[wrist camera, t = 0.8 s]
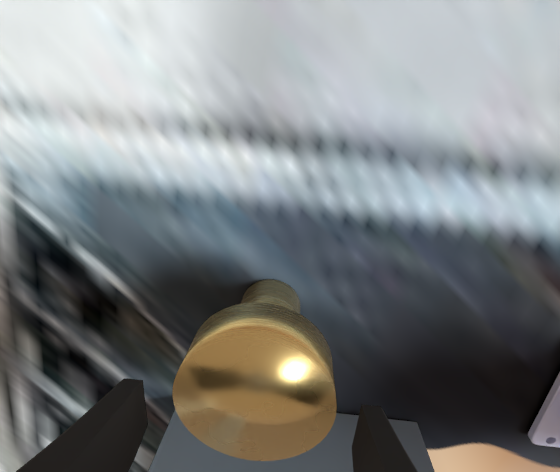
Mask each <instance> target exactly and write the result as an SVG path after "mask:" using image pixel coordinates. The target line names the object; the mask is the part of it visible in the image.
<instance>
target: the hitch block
mask: <svg viewBox="0 0 560 472" xmlns="http://www.w3.org/2000/svg"><path fill="white" fill-rule="evenodd" d="M358 417H359V415H350V414H341V413H336V417H335V421H334V424H333V426H332V428H331V430H330V431H329V433H328V434H327V435H326V437H325V438H324V439H323V440H322V441H321V442H320V443H319V444H317V445H316V446H315V447H313V448H312V449H310V450H308V451H306V452H304V453H302V454H300V455H297V456H294V457H291V458H287V459H282V460H275V461H253V460H246V459H240V458H236V457H232V456H229V455H226V454H224V453H221V452H219V451H217V450H214V449H213V448H211V447H209V446H207V445H206V444H204V443H203V442H201V441H200V440H199V439H197V438H196V437H195V436H194V435H193V434H192V433H191V432H190V431H189V430H188V429H187V428H186V427H185V426H184V424H183V423H182V421H181V420H180V418H179V416H178V414H177V412H176V409H175V411H174V413H173V415H172V418H171V420H170V422H169V425H168V427H167V429H166V432H165V434H164V436H163V438H162V441H161V443H160V445H159V448H158V450H157V452H156V455H155V457H154V459H153V462H152V464H151V466H150V469H149V471H148V472H353V460H352V443H353V439H354V435H355V430H356V426H357V422H358ZM388 420H389V422H390V424H391V425H392V427H393V429H394V431H395V433H396V435H397V437H398V438H399V440H400V442H401V444H402V445H403V447H404V449H405V451H406V452H407V454H408V456H409V458H410V459H411V461H412V463H413V464H414V466H415V468H416V469H417V471H418V472H434V469H433V466H432V463H431V461H430V458H429V455H428V452H427V449H426V446H425V444H424V441H423V438H422V435H421V432H420V430H419V427H418V424H417V422H411V421H402V420H393V419H388Z"/></svg>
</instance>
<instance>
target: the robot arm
mask: <svg viewBox="0 0 560 472" xmlns="http://www.w3.org/2000/svg"><path fill="white" fill-rule="evenodd" d="M147 425H148V422H147V413H146V405H145V397H144V388H143V380H135V379H123V380H122V381H121V382H120V383H119V384H117V385H116V386H115V387H114V388H113V389H112V390H111V391H110V392H109V393H107V394H106V395H105V396H104V397H103V398H102V399H101V400H100V401H99V402H98V403H97V404H95V405H94V406H93V407H92V408H91V409H90V410H89V411H88V412H87V413H85V414H84V415H83V416H82V417H81V418H80V419H79V420H77V421H76V422H75V423H74V424H73V425H72V426H71V427H69V428H68V429H67V430H66V431H65V432H64V433H62V434H61V435H60V436H59V437H58V438H57V439H56V440H54V441H53V442H52V443H51V444H50V445H48V446H47V447H46V448H45V449H43V450H42V451H41V452H40V453H38V454H37V455H36V456H35V457H34V458H32V459H31V460H30V461H29V462H27V463H26V464H25V465H24V466H22V467H21V468H20V469H19V470H17V471H16V472H128V471H129V469H130V467H131V465H132V463H133V461H134V459H135V456H136V454H137V451H138V449H139V446H140V444H141V441H142V438H143V436H144V433H145V430H146V428H147ZM528 437H529V438H530V440H531V441H532V442H533V443H534V444H537V445H543V446H551V447H560V372H559V374H558V376H557V378H556V380H555V382H554V384H553V386H552V388H551V390H550V392H549V394H548V395H547V397H546V399H545V401H544V403H543V405H542V407H541V409H540V411H539V413H538V415H537V417H536V418H535V420H534V422H533V424H532V426H531V428H530V430H529V432H528ZM352 460H353V472H418V471H417V469H416V468H415V466H414V464H413V463H412V461H411V459H410V458H409V456H408V454H407V452H406V451H405V449H404V447H403V445H402V444H401V442H400V440H399V438H398V437H397V435H396V433H395V431H394V429H393V427H392V425H391V424H390V422H389V420H388V418H387V416H386V414H385V412H384V410H383V409H382V408H381V407H380V406H371V405H362V404H361V409H360V413H359V417H358V422H357V426H356V430H355V435H354V439H353V443H352Z"/></svg>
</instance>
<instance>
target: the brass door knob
mask: <svg viewBox="0 0 560 472" xmlns="http://www.w3.org/2000/svg"><path fill="white" fill-rule="evenodd" d="M173 402H174V406H175V409H176V412H177V414H178V416H179V418H180V420H181V421H182V423H183V424H184V426H185V427H186V428H187V429H188V430H189V431H190V432H191V433H192V434H193V435H194V436H195V437H196V438H197V439H199V440H200V441H201V442H203V443H204V444H206V445H207V446H209V447H211V448H213V449H214V450H217V451H219V452H221V453H224V454H226V455H229V456H232V457H236V458H240V459H246V460H253V461H275V460H282V459H287V458H291V457H294V456H297V455H300V454H302V453H304V452H306V451H308V450H310V449H312V448H313V447H315V446H316V445H317V444H319V443H320V442H321V441H322V440H323V439H324V438H325V437H326V435H327V434H328V433H329V431H330V430H331V428H332V426H333V424H334V421H335V417H336V411H337V404H336V393H335V384H334V375H333V365H332V356H331V352H330V348H329V346H328V343H327V341H326V339H325V338H324V336H323V334H322V333H321V332H320V331H319V329H318V328H317V327H316V326H315V325H314V324H313V323H312V322H310V321H309V320H308V319H306V318H305V317H304V316H302V315H300V300H299V297H298V295H297V294H296V292H295V291H294V290H293V289H292V288H291V287H290V286H289V285H287V284H285V283H284V282H281V281H278V280H270V279H268V280H261V281H258V282H256V283H254V284H252V285H251V286H250V287H249V288H248V289H247V290H246V291H245V293H244V295H243V298H242V301H241V304H237V305H233V306H230V307H227V308H225V309H223V310H220V311H218V312H217V313H215V314H214V315H212V316H211V317H210V318H208V319H207V320H206V321H205V322H204V323H203V325H202V326H201V327H200V328H199V330H198V332H197V333H196V335H195V337H194V339H193V342H192V344H191V346H190V348H189V350H188V352H187V354H186V356H185V358H184V360H183V362H182V364H181V366H180V368H179V370H178V373H177V375H176V377H175V380H174V384H173Z"/></svg>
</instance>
